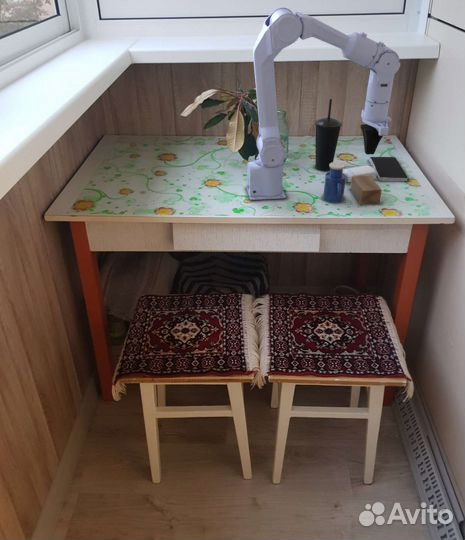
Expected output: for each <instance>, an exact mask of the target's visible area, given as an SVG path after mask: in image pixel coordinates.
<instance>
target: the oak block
mask: <svg viewBox="0 0 465 540" xmlns="http://www.w3.org/2000/svg"><path fill="white" fill-rule="evenodd" d="M349 189H350V192H351V193H352V195H353V196H354V198H355V199H356V201H357V202H358V203H359V205H360V206H362V205H363V206H367V205H380V202H381V197H382V188H381V186H379V184H378V183H377V182H376V181H375V179H373V178H372V177H371V176H352V182H351V183H350V188H349Z"/></svg>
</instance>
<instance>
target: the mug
mask: <svg viewBox="0 0 465 540" xmlns="http://www.w3.org/2000/svg"><path fill="white" fill-rule="evenodd" d="M345 166H346V165H345V163H343V162H341V161H333V162H332V163H330V164H329V167H330V170H329V171H327V172H326V173H325V177H324V184H323V185H324V186H323V194H322V199H323V201H325V202H327V203H331V204H338V203H341V202H343V200H344V194H345V188H346V175H345V174H344V173H343V170H344V169H345V168H346V167H345Z"/></svg>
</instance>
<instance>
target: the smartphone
mask: <svg viewBox="0 0 465 540" xmlns="http://www.w3.org/2000/svg"><path fill="white" fill-rule="evenodd" d="M368 160H369V163H370V166H371V167H373V168H374V169H375V171H376V177H377V178H378V180H379V182H408V178H409V177H408V175H407V174H406V172H405V170H404V169H403V167H402V165H401V164H400V162H399V160H398V159H397V158H396V157H395V156H370V157H369V159H368Z"/></svg>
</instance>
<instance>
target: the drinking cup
mask: <svg viewBox="0 0 465 540" xmlns="http://www.w3.org/2000/svg"><path fill="white" fill-rule="evenodd" d="M332 104H333V99H332V98H329V100H328V112H327V116H324V117H321V118H317V119H316V120H315V121H314V125H315V137H314V138H315V139H314V140H315V143H314V144H315V145H314V146H315V150H314V151H315V155H314V157H315V159H314V160H315V161H314V162H315V164H314V165H315V169H316V170H318V171H321V172H330V167H329V164H330V163H332V162H334V160H335V155H336V152H337V146H338V141H339V136H340V132H341V127H342V126H343V122H342V121H341V120H339V119H337V118H335V117H332V116H331V114H332Z"/></svg>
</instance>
